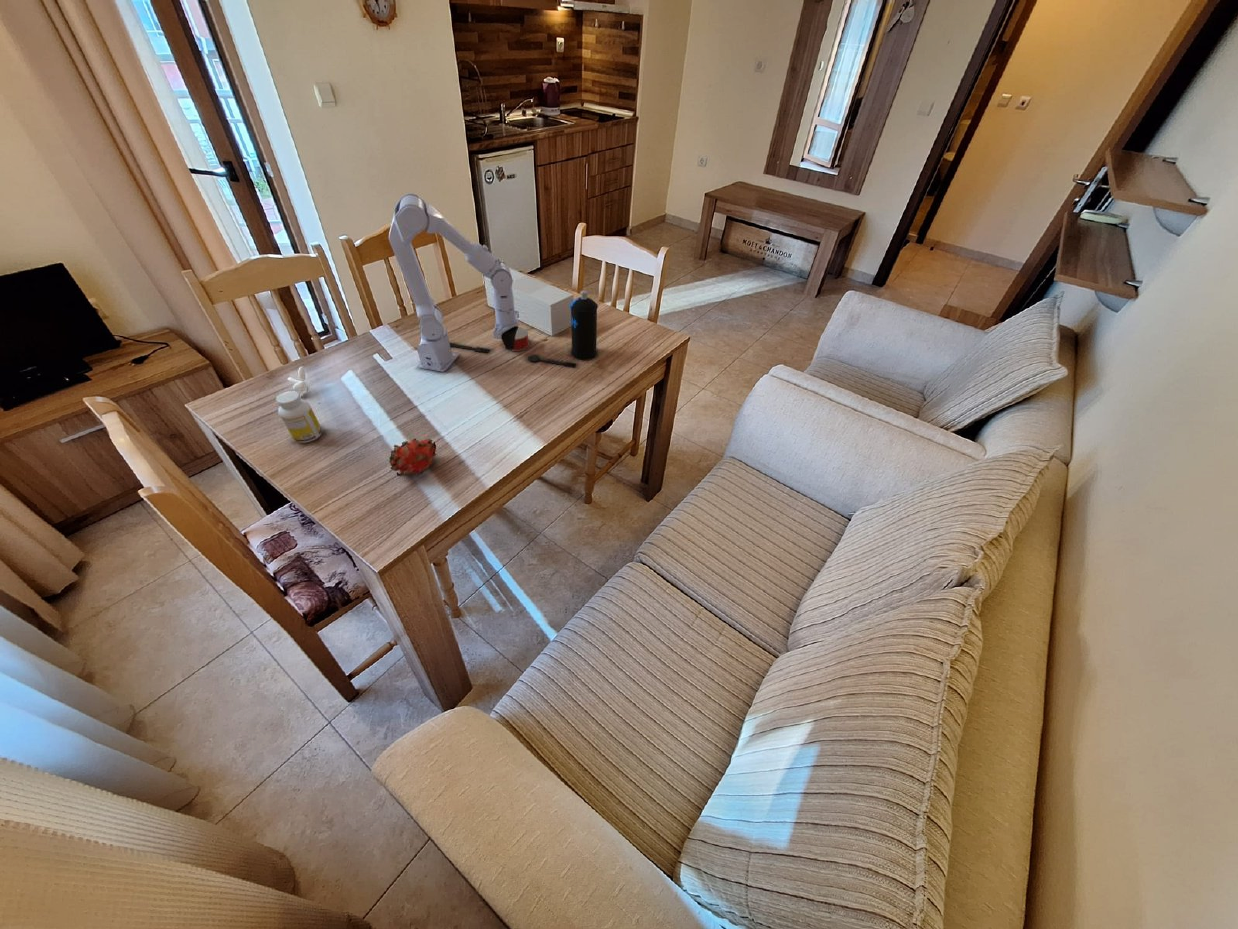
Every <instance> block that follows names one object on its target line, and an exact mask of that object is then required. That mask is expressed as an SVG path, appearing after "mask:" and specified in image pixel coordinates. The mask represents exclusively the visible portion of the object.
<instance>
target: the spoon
mask: <svg viewBox="0 0 1238 929" xmlns="http://www.w3.org/2000/svg"><path fill="white" fill-rule="evenodd" d="M527 360H528V362H529V363H538V362H542V363H546V364H551V365H552V364H553V365H559V366H564V367H567V368H575V367H576V366H577V363H574V362H568V361H566V362H565V361H560V360H553V359H549V358H548V359H545V358H541V357H540V356H539V355H537V354H530V355H529V356H527Z"/></svg>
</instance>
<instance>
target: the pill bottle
mask: <svg viewBox="0 0 1238 929" xmlns="http://www.w3.org/2000/svg"><path fill="white" fill-rule="evenodd" d="M275 401H276V403H277V404H278V406H279V407H278V409H277V412H278V415H279V417H280V418H281V421H282V422H283V424H284V426H285V427H286V429H287V431H288V432H289V434H290V436H291V438H292V439H293V441H295V442H297V443H299V444H300V443H303V444H304V443H305V444H306V443H311V442H313V441H315V440H317V439H318V438H320V437H321V435H322V433H323V428H322V426H321V424H320V422H319V420H318V418H317V417H316V414H315V413H314V410H313V409H312V407H311V404H310V403H309V402H308V401H307V400H305V399H302V396H300V394H299V393H298V392H296V391H293V390H289V391H284V392H282V393H280V394H278V395H277V396H276V398H275Z"/></svg>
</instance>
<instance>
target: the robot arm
mask: <svg viewBox="0 0 1238 929" xmlns="http://www.w3.org/2000/svg"><path fill="white" fill-rule="evenodd" d="M424 230H425V233H426V234H439V235H440V236H441V237H443V238H444V239H445V240H447V242H449V243H451V244H452V245H453V246H455V248H457V249H458V250H460V251H461V252H462V253H463V254H464V257H465V261H466V262H467V263H468V264H469V265H470V266H472V267H473V268H474V269H475V270H477V271H478V272H479V273H480V274H481V275H483V277H484V276H485V277H487V278H489V279H491V284H492V287H493V291H492V294H493V301H494V308H493V309H494V313H495V323H494V324H495V325H494V330H493V333H492V334H493V339H496V340H501V341H502V343H503V346H504V345H505V347H504V348H505V350H507V351H510V350H513V348H514V341H515V335H516V332H517V330H518V327H520V325H521V321H520V320H518V319H517V318H518V317H519V311H516V310H515V307H514V298H513V291H512V283H513V279H512V276H511V273H510V270H509V268H510V267H509V266H508V264H506V262H505V261H504V260H502V259H500V258H497V257H496V256H495V255H494V254H492V253H491V252H490V251H489V247H488V246H487V245H485V244H483V245H482V244H481V243H479V242H471V241H470V240H469V239H468V238H467V237H466V236H465V235H464V234H463V233H462V232H461V231H459V229H457V227H455V226H454V225H453V224H452V223H451V222H450V221H449V220H448V219H447V218H446V217H445V216H443V214H441V213H440V212H439V211H438V210H437V209H436V208H435V207H434V206H433V205H431V204H430V203H429V202H425V200H424V199H423V198H422V197H421V196H419V195H418V194H415V193H406V194H403V195H402V197H401V198H400V199H399V201H398V202H397V203H396V204H395V207H394V212H393V216H392V220H391V224H390V228H389V233H388V241H389V244H390V247H391V249H392V252H393V254H394V257H395V259H396V261H397V264H398V266H399V268H400V271H401V274H402V276H403V279H404V281H405V283H406V286H407V288H408V291H409V294H410V296H411V299H412V301H413V303H414V306H415V310H416V314H417V318H418V321H419V326H418V327H419V328H418V330H419V333H420V342H419V344H418V345H417V348H416V350H417V354H418V358H419V361H420V365H419V368H420V369H425V370H431V371H437V372H441V373H442V372H443V373H444V372H446V370H448V369H449V367H451V365H452V364H453V363H454V362H455V360H456V359H457V358H458V357H459V354H458V353H453V352H452V347H450V343H451V342H450V338H449V334H448V330H447V329H446V328H445V326H444V325H443V324H444V322H443V319H444V317H443V312H442V310H441V309H440V308H439V307H438V306H437V305H436V303H435V300H434V299H433V297H432V295H431V293H430V290H429V287H428V284H427V282H426V279H425V276H424V274H423V271H422V269H421V265H420V263H419V260H418V257H417V255H416V251H415V249H414V247H413V244H412V242H413V240H414V238H415V237H416V236H418V235H419V234H421V233H422V232H423V231H424Z"/></svg>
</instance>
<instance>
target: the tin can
mask: <svg viewBox="0 0 1238 929" xmlns="http://www.w3.org/2000/svg"><path fill="white" fill-rule="evenodd" d="M529 346H530V341H529V331H528V330H527V329H526V328H524V327H521V326H518V330H517V332H516V335H515V341H514V348H513V350H509V351H511V352H521V351H524V350H526V349H528V347H529ZM503 347H504V348H505V345H504V344H503Z"/></svg>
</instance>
